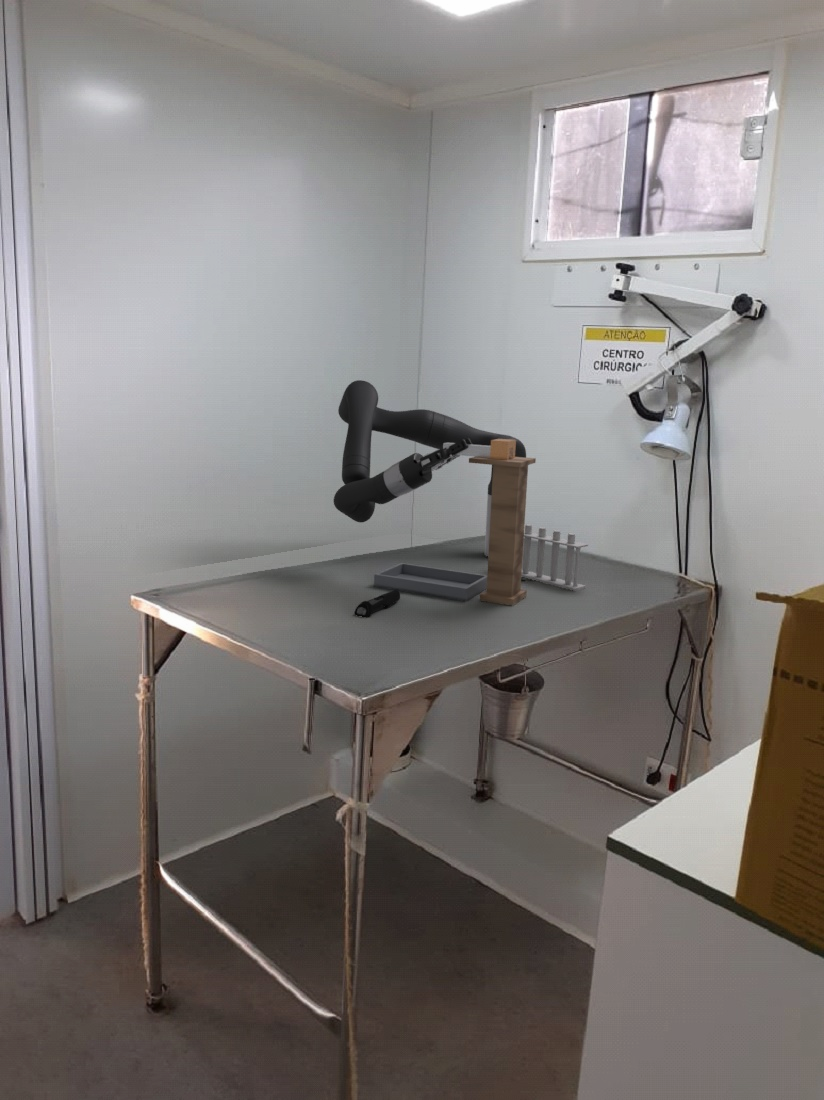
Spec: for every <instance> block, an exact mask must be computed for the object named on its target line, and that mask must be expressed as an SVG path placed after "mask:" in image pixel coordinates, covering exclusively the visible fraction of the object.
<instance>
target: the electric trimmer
mask: <svg viewBox="0 0 824 1100" xmlns="http://www.w3.org/2000/svg"><path fill="white" fill-rule="evenodd" d="M400 592H401V591H399V590H398V589H396V590H390V591H389V592H386V593H383V594H381V595H378V596H376V597H373V598H371V599H369V600H363V601H362V602H360V603H359V604H358V605H357V606H356V608H355V611H354V613H353V614H354V616H355V615H357V616H356V617H359V616H362V617H361V618H364V617H366V618H371V616H372V614H374V613H375V612H377V611H379V610H382V609H387V608H390V607H391V606H393V605H394V604H395V603H396V602H398V601H399V600H401V594H400Z"/></svg>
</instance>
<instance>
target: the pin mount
mask: <svg viewBox="0 0 824 1100" xmlns="http://www.w3.org/2000/svg"><path fill="white" fill-rule="evenodd" d="M468 463H469V464H481V465H491V466H492V465H493V478H492V498H491V517H490V536H489V555H488V557H487V559H488V560H487V574H486V575H487V589H486V590H485V591H483V592H481V593H480V594H479V601H480V602H481V601H482V602H486V601H487V602H486V603H492V602H493V603H494V604H498V603H500V604H499V605H504V604H507V605H506V606H510V605H514V606H515V605H516V604H518V603H519V602H521V601H522V600H524V599H525V598H526V597H527V592H528V591H527V589H521V588H522V577H521V573H522V570H523V552H524V531H525V525H526V524H525V521H526V505H527V487H528V486H527V485H528V471H529V465H532V464H536V457H534V458H533V457H526V458H525V457H515V458H513V459H509V460H501V459H490V458H486V457H474V456H471V457H469V458H468ZM523 598H524V599H523ZM520 600H521V601H520ZM517 602H518V603H517ZM493 603H492V604H493Z"/></svg>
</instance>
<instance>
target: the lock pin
mask: <svg viewBox="0 0 824 1100" xmlns="http://www.w3.org/2000/svg"><path fill="white" fill-rule="evenodd" d="M453 444H455V443H448V442H447V443H443V448H445V447H446V446H449V447H450V446H451V445H453ZM467 446H468V447H467V449H465V450H463V451H461V452H459V453H457V454H455V455H460V456H462V457H463V456H466V457H486V458H490V459H501V460H509V459H513V458H515V448H516V440H510V439H495V440H491V446H486V445H473V444H467ZM453 455H454V454H453Z"/></svg>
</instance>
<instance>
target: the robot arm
mask: <svg viewBox="0 0 824 1100" xmlns="http://www.w3.org/2000/svg"><path fill="white" fill-rule="evenodd" d="M378 403H379V394H378V391H377V389H376V387H375V386H374V385H373V384H371V382H368V381H366V380H363V379H361V380H359V379H358V380H354V381H352V382H351V383H350V384H348V385H347V387H346V388H345V390H344V392H343V395H342V397H341V400H340V403H339V405H338V410H337V411H338V412H337V413H338V415H339V417H340V419H341V420H342V421H343V422H344V423H346V424H347V426H348V427H347V431H346V432H347V433H346V437H345V443H344V448H343V453H342V454H343V455H342V460H341V461H342V466H341V481H342V482H343V486H341V487H340V488H338V490H336V492H335V494H334V495H333V496H334V497H333V505H334V506H335V507H334V508H336V510H337V511H339V512H340V513H342V514H344V515H345V516H347V517H348V518H350V519H351V520H353V521H354V522H356V523H365V522H367V521H369V520H370V519H371V518H372V516H373V514H374V512H375V509H376V504H378V505H385V504H387V503H389V502H391V501H393V500H395V499H397V498H399V497H401V496H403V495H407V494H409V493H411V492H413V491H415V490H416V489H418V488H420V487H422V486H424V485H426V484H428V483H430V482H431V481H432V479H433V471H438V470H440V469H442V468H443V467H444V466H445V465H447V464H448V465H449V464H450V463H451V462H452V461H454V460H456V459H457V458H459V457H461V455H455V454H457V453H459V452H461V451H463V450H465V449H467V447H468V446H467V444H473V445H486V446H491V440H495V439H510V440H516V448H515V457H525V458H527V450H526V447H525V444H524V443H523V442H522V441H521V440H520V439H518V438H516V437H514V436H511V435H509V434H500V433H497V432H496V433H495V432H492V431H487V430H483V429H480V428H479V429H478V428H475V427H473V426H471V425H468V424H467V423H465V422H462V421H461V420H458V419H456V418H454V417H451V416H448V415H446V414H443V413H439V412H437V411H433V410H430V409H420V408H419V409H409V410H399V411H396V410H395V411H394V410H389V409H384V408H381V407H378ZM374 431H375V432H379V433H382V434H383V433H384V434H388V435H391V436H394V437H398V438H401V439H403V440H404V439H405V440H409V441H412V442H415V443H418V444H420V445H424V446H426V447H430V448H433V449H436V450H434V451H432V452H429V453H426V454H425V455H423V454H422V453H418V452H414V453H412V454H410V455H408V456H407V457H405V458H403V459H401V460H400V461H397V462H395V463H393V464H392V465H391V466H389V467H388V468H387V469H385V470H384V471H382V472H380V473H378V474H376V475H374V476H373V477H371V455H372V454H371V452H372V432H374ZM447 442H448V443H455V444H453V445H451V446H450V447H449V446H446V447H445V448H443V443H447ZM453 454H454V455H453ZM492 478H493V465H491V474H490V480H489V483H488V485H487V497H486V498H487V503H486V519H485V521H486V522H485V523H486V524H485V537H484V538H485V539H484V556H485V555H486V556H485V557H487V556H488V555H489V536H490V517H491V498H492Z"/></svg>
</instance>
